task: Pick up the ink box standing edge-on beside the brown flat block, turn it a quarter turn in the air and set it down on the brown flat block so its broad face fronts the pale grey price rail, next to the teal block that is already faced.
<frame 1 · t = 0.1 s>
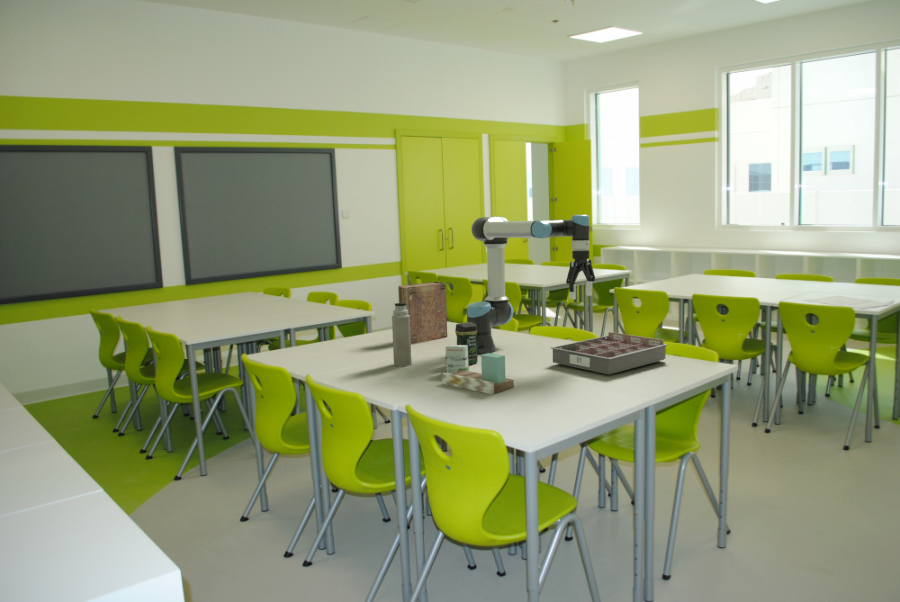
hand: (581, 297, 296), 28 cm above the table, fingers open, 13 cm apart
ink box: (457, 373, 280), on the table
coffee jar: (467, 363, 298), on the table
teal block: (493, 380, 253), point 3 cm above the table, touching brown flat block
brown flat block: (478, 385, 259), on the table
organizer tray: (609, 364, 289), on the table
thermos bottle: (402, 364, 299), on the table
book: (424, 339, 357), on the table
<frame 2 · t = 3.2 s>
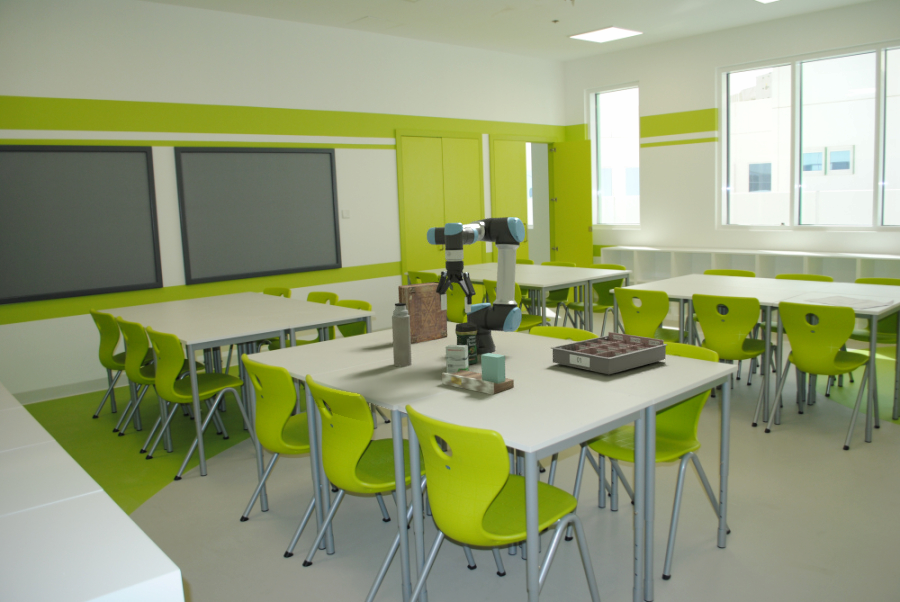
hand: (455, 311, 276), 26 cm above the table, fingers open, 13 cm apart
nothing on the table moved.
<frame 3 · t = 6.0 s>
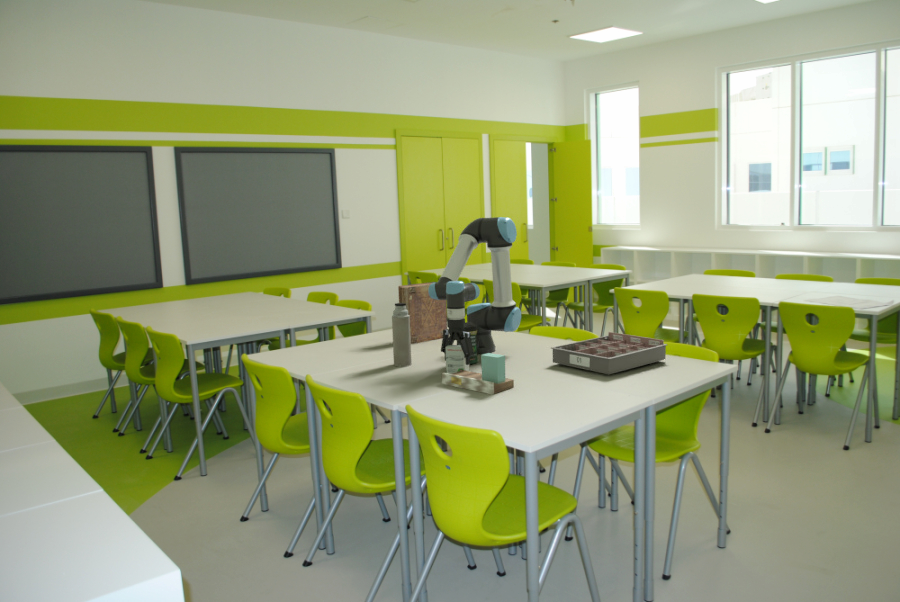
hand: (457, 370, 280), 1 cm above the table, fingers closed on ink box, 9 cm apart
ink box: (457, 373, 280), on the table, touching gripper
everything else where it was.
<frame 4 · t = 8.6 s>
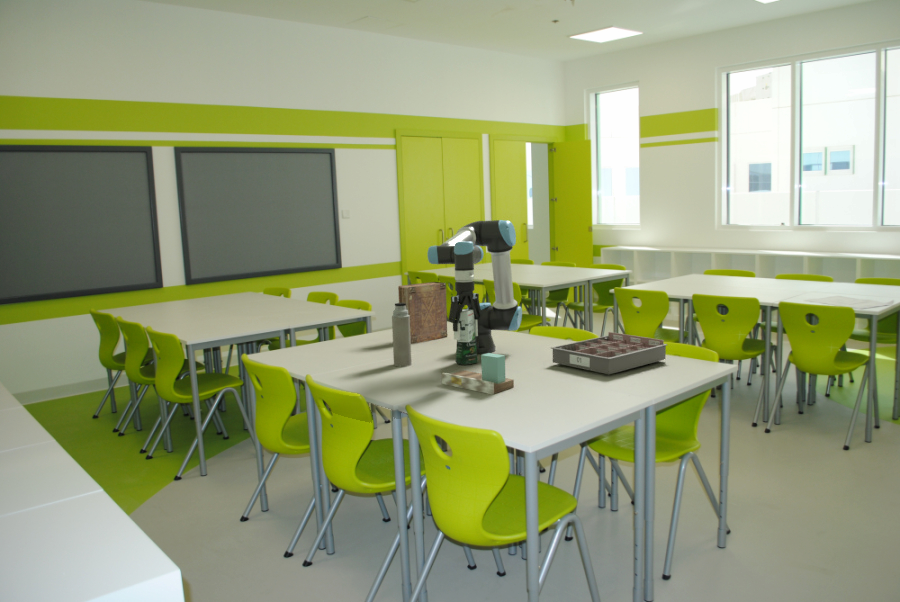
hand: (466, 337, 261), 18 cm above the table, fingers closed on ink box, 9 cm apart
ink box: (466, 340, 261), point 17 cm above the table, touching gripper
everything else where it was.
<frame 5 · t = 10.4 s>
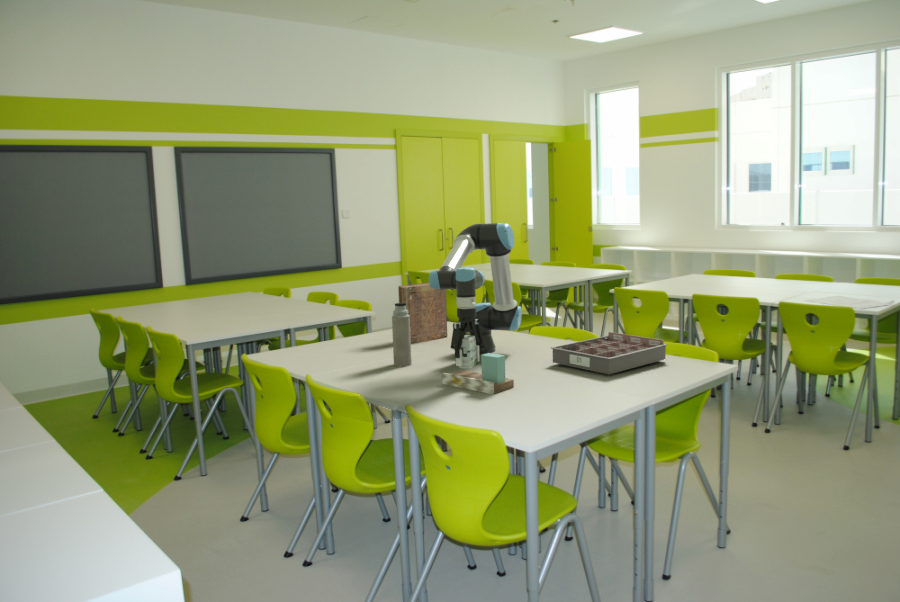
hand: (467, 363, 261), 8 cm above the table, fingers closed on ink box, 9 cm apart
ink box: (467, 366, 261), point 7 cm above the table, touching gripper
everything else where it was.
when the fingers open (5 cm above the table, at t = 11.5 s): ink box drops 1 cm, resting on brown flat block.
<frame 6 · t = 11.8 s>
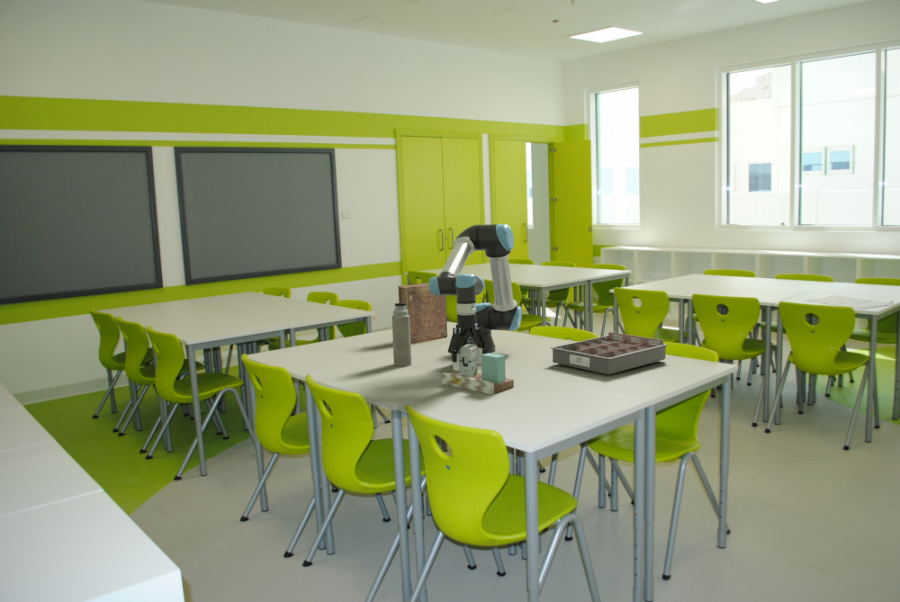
hand: (468, 366, 262), 7 cm above the table, fingers open, 13 cm apart
ink box: (468, 376, 262), point 3 cm above the table, touching brown flat block
everything else where it was.
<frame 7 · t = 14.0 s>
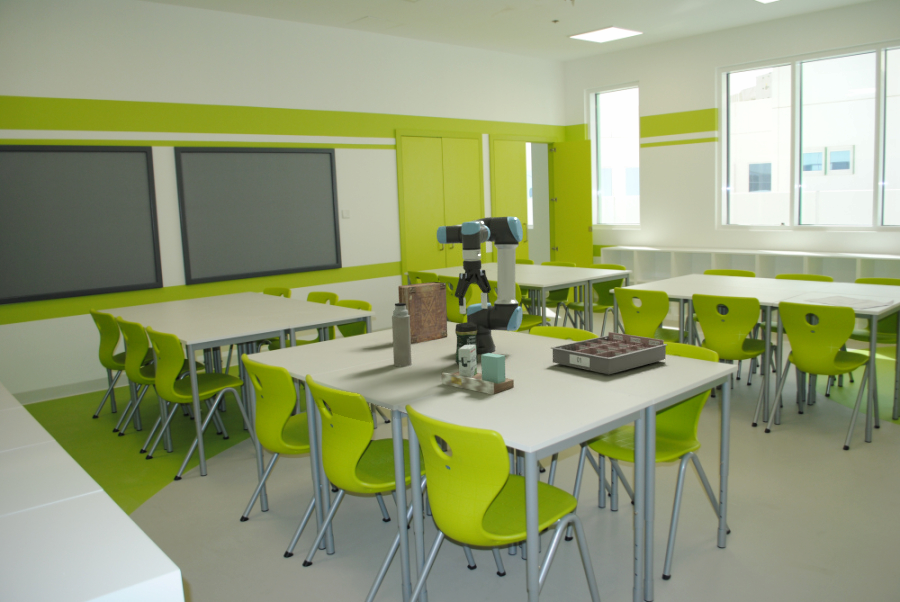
hand: (473, 310, 274), 27 cm above the table, fingers open, 13 cm apart
nothing on the table moved.
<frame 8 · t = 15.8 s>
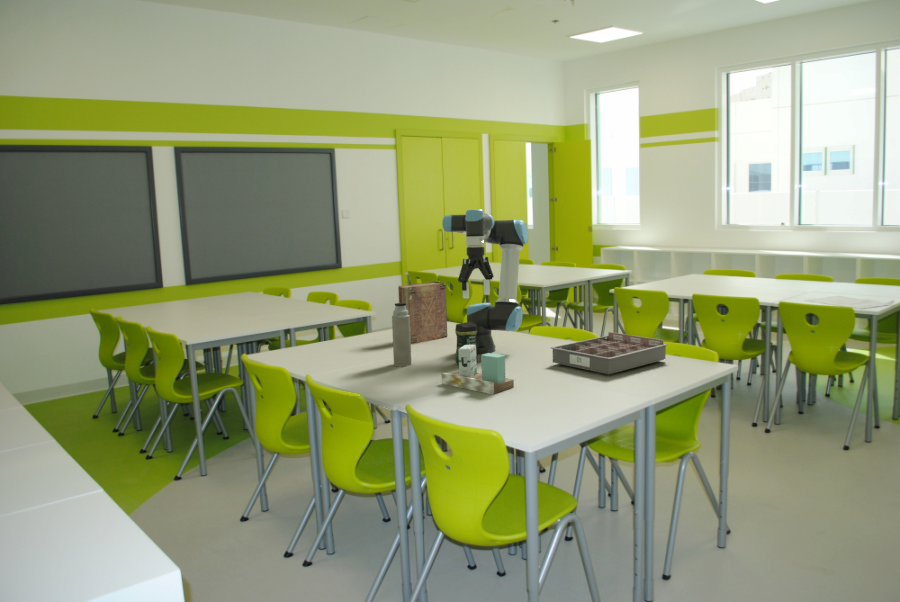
hand: (476, 296, 281), 32 cm above the table, fingers open, 13 cm apart
nothing on the table moved.
at the end: ink box inside the target area (0.1 cm from its centre), point 2.8 cm above the table; ink box tilted 0°; the gripper is holding nothing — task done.
